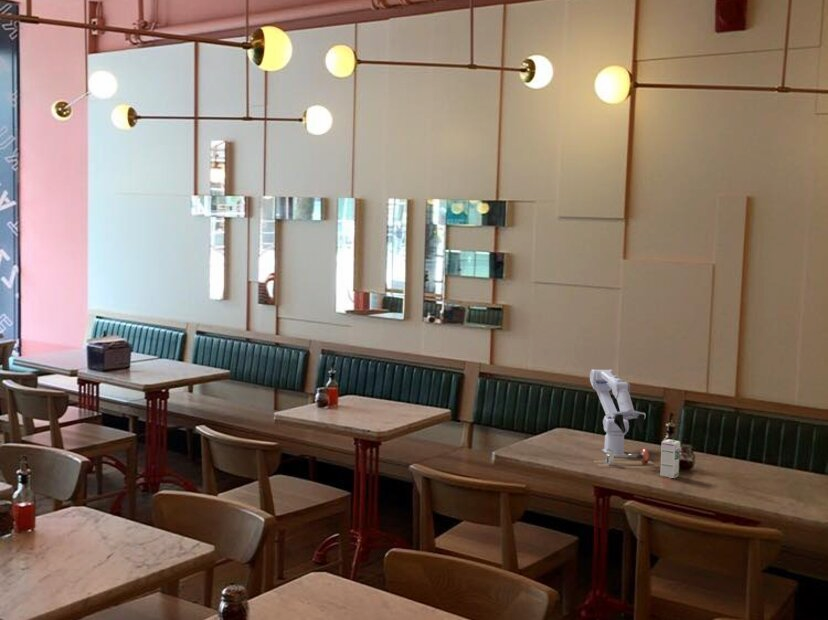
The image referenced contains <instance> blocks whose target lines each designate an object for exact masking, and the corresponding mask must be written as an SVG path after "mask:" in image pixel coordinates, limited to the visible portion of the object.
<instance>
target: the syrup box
mask: <svg viewBox="0 0 828 620" xmlns="http://www.w3.org/2000/svg"><path fill="white" fill-rule="evenodd" d="M660 448H661V449H660V450H661V451H660V467H659V470H660V473H659V475H660V476H661V477H665V478H666V477H668V478H667V479H671V478H674V479H675V478H677V477H679V476H680V460H681V459H680V456H681V455H680V454H681V441H680V440H675V439H666V440H662V441H661V447H660Z"/></svg>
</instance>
